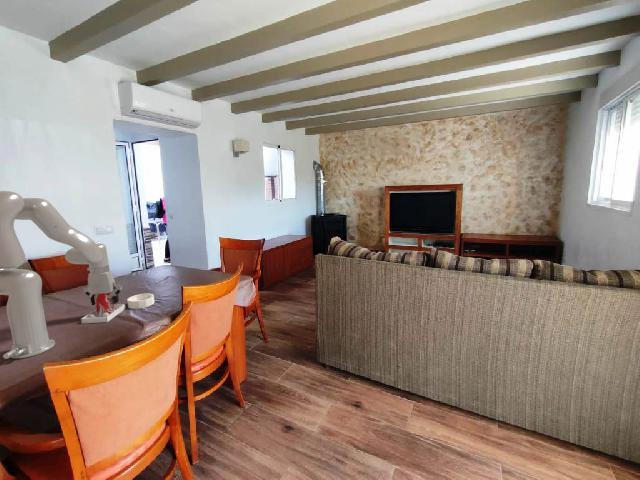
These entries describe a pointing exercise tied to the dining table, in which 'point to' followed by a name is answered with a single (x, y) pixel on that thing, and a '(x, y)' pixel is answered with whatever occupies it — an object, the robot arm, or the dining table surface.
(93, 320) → the parts tray
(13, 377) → the dining table surface
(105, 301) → the soda can
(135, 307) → the bowl
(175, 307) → the dining table surface
